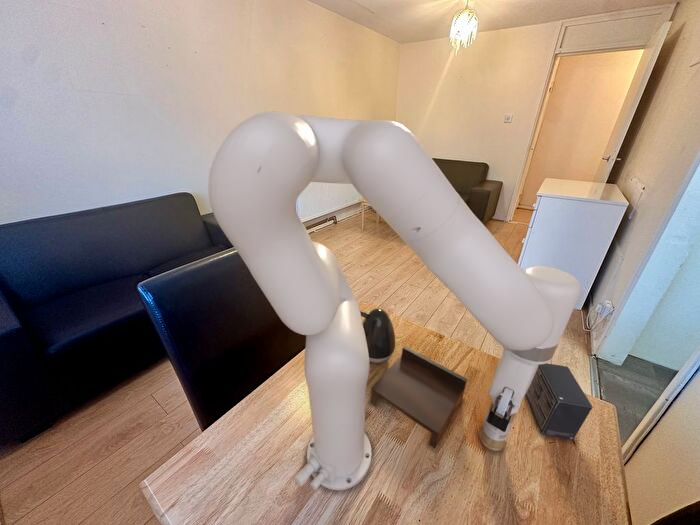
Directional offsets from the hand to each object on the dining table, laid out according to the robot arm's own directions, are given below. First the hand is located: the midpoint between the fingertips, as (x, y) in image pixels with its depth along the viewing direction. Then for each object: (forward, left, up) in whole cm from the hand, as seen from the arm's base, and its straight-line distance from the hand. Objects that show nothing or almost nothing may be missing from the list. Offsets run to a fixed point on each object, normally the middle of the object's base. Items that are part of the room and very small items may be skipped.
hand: (501, 411), depth 54 cm
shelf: (-2, +16, -9) cm, 18 cm away
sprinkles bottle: (0, 0, -9) cm, 9 cm away
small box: (+14, -8, -9) cm, 19 cm away
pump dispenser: (+4, +32, -9) cm, 34 cm away
